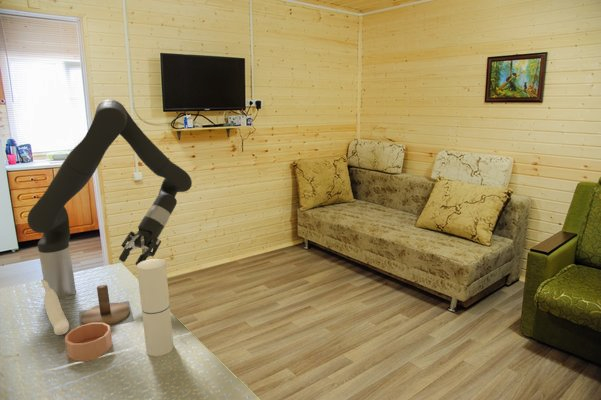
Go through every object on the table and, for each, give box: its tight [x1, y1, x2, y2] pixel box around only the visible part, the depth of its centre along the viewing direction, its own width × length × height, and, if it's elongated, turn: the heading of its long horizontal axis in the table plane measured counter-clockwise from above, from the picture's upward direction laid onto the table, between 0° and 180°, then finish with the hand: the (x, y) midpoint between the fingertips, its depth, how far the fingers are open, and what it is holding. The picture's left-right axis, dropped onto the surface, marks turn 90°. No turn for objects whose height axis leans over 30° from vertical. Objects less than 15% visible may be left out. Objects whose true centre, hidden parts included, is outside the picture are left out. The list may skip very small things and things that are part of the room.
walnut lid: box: [81, 284, 130, 325], centre depth 131 cm, size 14×14×10 cm
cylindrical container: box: [136, 258, 175, 357], centre depth 112 cm, size 7×7×25 cm
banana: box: [41, 279, 70, 336], centre depth 123 cm, size 5×19×15 cm, turn 41°
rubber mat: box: [78, 300, 135, 328], centre depth 132 cm, size 15×15×1 cm
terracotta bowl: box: [64, 323, 113, 363], centre depth 115 cm, size 11×11×5 cm
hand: (129, 263), depth 137 cm, fingers open, 8 cm apart
